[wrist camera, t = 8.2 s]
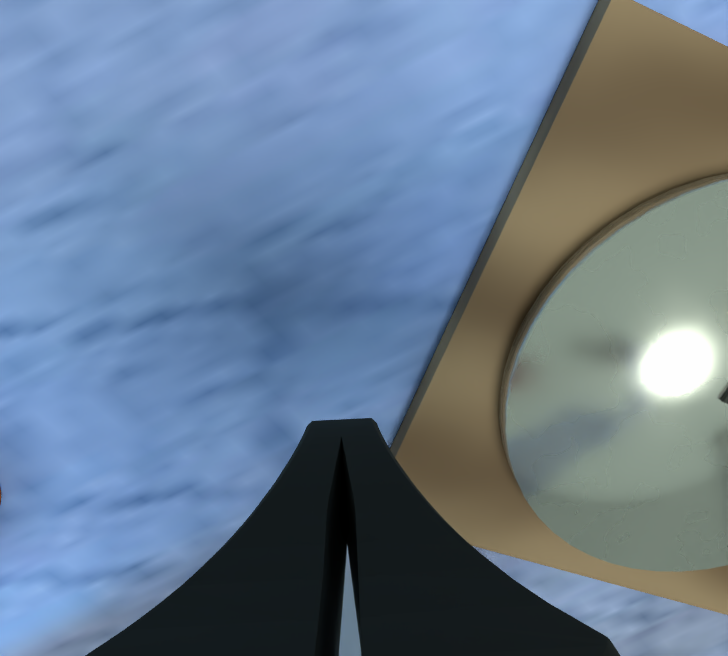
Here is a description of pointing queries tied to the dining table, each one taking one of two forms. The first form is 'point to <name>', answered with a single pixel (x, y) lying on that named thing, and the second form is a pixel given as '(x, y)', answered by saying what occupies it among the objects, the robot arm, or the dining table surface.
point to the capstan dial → (630, 388)
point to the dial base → (549, 253)
